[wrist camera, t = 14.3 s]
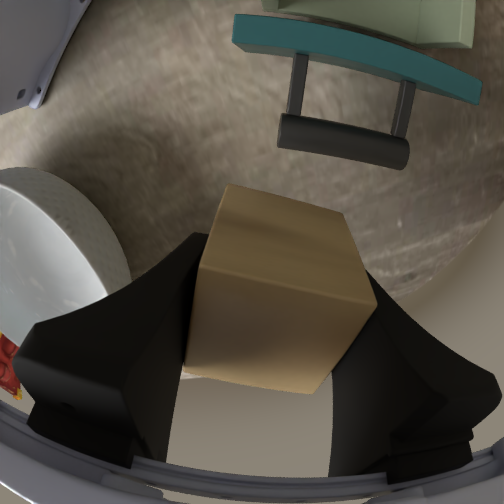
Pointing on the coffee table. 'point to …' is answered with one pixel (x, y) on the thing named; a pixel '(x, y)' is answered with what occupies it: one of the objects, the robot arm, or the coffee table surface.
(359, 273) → the block
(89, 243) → the cereal bowl
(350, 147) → the drawer
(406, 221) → the coffee table surface
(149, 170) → the coffee table surface
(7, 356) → the book monster
